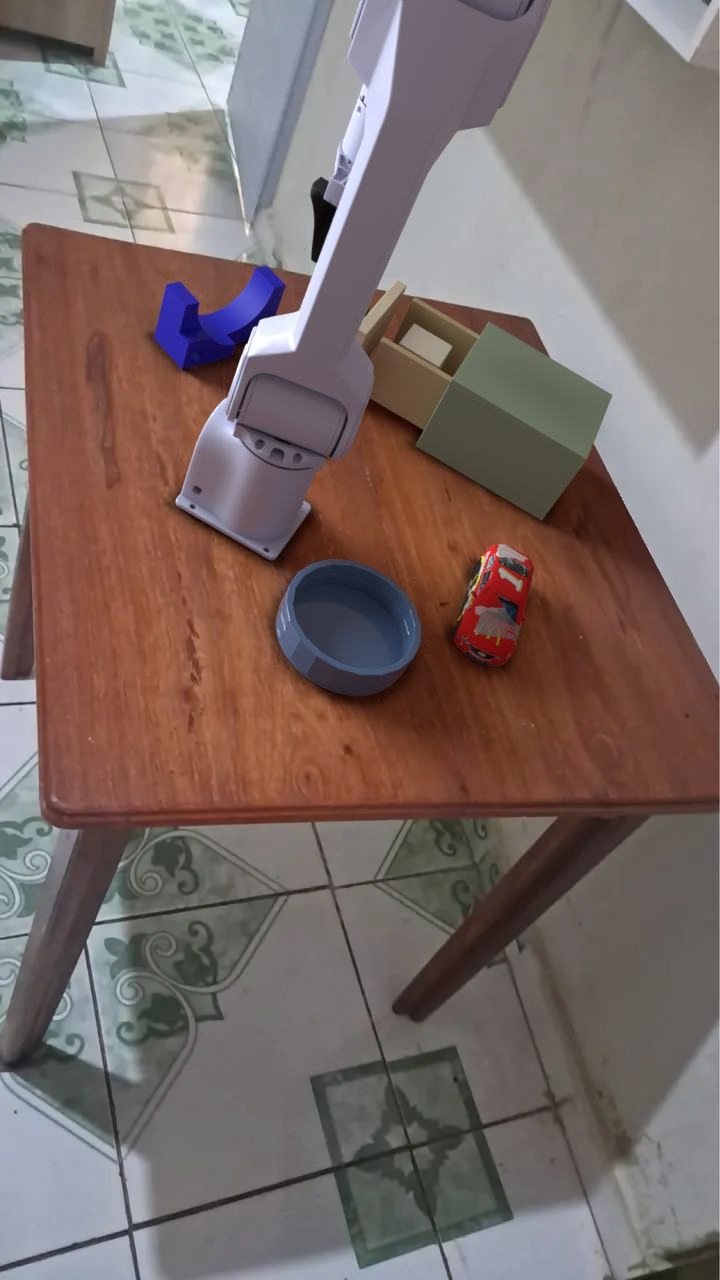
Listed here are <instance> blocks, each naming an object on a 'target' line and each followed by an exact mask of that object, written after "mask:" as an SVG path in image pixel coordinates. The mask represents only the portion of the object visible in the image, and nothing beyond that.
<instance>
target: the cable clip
mask: <svg viewBox="0 0 720 1280" xmlns="http://www.w3.org/2000/svg"><path fill="white" fill-rule="evenodd" d="M286 286H287V285H286V283H284V281H282V279H281V278H280V277H279V276H278V275H277V274H276V273H275V272H274V271H273V270H272V269H271V268H270V267H269V266H268V265H263V266H258V267H255V268H254V270H253V273H252V275H251V278H250V279H249V281H248V283H247V284H246V286H245V287H244V288H243V290H242V291H241V292H240V293H239V294H238V296H236V298H234V299H233V300H232V301H231V302H230V303H229V304H227V305H225V306H223V307H222V308H220V309H219V310H216V311H214V312H211V313H206V314H199V308H200V307H199V306H200V301H199V300H198V299H197V298H196V297H195V296H194V295H193V294H192V293H191V292H190V291H189V289H188V288H187V287H186V286H185V285H184V284H183V283H182V282H181V281H176V282H170V283H166V285H165V288H164V293H163V298H162V302H161V305H160V311H159V316H158V319H157V324H156V327H155V332H154V335H153V339H154V340H155V341H156V342H157V344H159V346H160V347H161V348H162V350H164V351H165V353H166V354H167V355H168V356H169V357H170V358H171V359H172V360H173V361H174V363H176V365H177V366H178V367H179V369H181V370H184V369H188V368H192V367H197V366H200V365H205V364H208V363H212V362H217V361H221V360H224V359H227V358H232V356H233V353H234V351H235V347H236V344H239V343H243V342H248V341H249V338H250V335H251V332H252V330H253V328H254V327H256V326H257V327H258V324H259V321H260V320H262V319H265V318H269V317H274V316H277V313H278V310H279V307H280V304H281V301H282V298H283V295H284V292H285V290H286Z"/></svg>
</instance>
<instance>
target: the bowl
mask: <svg viewBox="0 0 720 1280" xmlns="http://www.w3.org/2000/svg"><path fill="white" fill-rule="evenodd" d="M275 617H276V618H275V631H276V637H277V641H278V643H279V646H280V648H281V650H282V652H283V654H284V656H285V658H286V659H287V660H288V662H289V663H290V664H291V666H292V667H293V668H295V670H297V672H298V673H300V674H301V676H303V677H304V678H305V679H307V680H309V682H312V683H313V684H315V685H316V686H318V687H320V688H322V689H324V690H327V691H329V692H332V693H336V694H339V695H344V696H355V697H362V696H363V697H364V696H370V695H374V694H377V693H380V692H382V691H385V690H387V689H388V688H390V687H391V686H392V685H394V684H395V683H396V682H397V681H398V679H399V678H401V676H402V675H403V674H404V673H405V671H406V670H407V668H408V667H409V666H410V664H411V662H412V661H413V660H414V658H415V656H416V654H417V653H418V650H419V648H420V646H421V643H422V642H421V641H422V640H421V639H422V625H421V621H420V618H419V614H418V610H417V609H416V607H415V605H414V603H413V602H412V600H411V599H410V597H409V596H408V594H407V592H406V591H404V589H402V588H401V587H400V586H399V585H398V584H397V583H396V582H395V581H394V580H393V579H392V578H390V577H389V576H388V575H386V574H384V573H383V572H381V571H379V570H377V569H376V568H374V567H372V566H370V565H366V564H364V563H361V562H358V561H355V560H352V559H351V560H350V559H337V558H335V559H334V558H329V559H323V560H320V561H315V562H312V563H310V564H308V565H307V566H305V567H304V568H302V569H301V570H299V571H297V572H296V575H294V577H293V579H292V580H291V582H290V583H289V584H288V587H287V589H286V590H285V593H284V594H283V597H282V599H281V600H280V603H279V606H278V609H277V613H276V616H275Z"/></svg>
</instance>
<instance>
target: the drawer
mask: <svg viewBox="0 0 720 1280" xmlns="http://www.w3.org/2000/svg"><path fill="white" fill-rule="evenodd" d="M407 287H408V285H407V284H405V283H403V282H401V281H400V280H398V279H396V280H395V282H394V283H393V284H392V285H391V286H390V287H389V289H388V290H386V292H385V293H384V295H382V297H381V298H379V300H378V302H376V304H375V305H374V306H373V307H372V309H368V310H367V312H366V314H365V317H364V319H363V321H362V323H361V326H360V328H359V330H358V332H357V335H356V339H357V341H358V342H359V344H360V345H361V347H362V348H363V350H364V351H365V352H366V354H367V355H368V357H369V358H370V356H371V355H372V354H373V356H372V358H371V359H370V360H371V362H372V364H373V366H374V369H373V374H374V382H373V387H372V391H371V395H370V398H369V400H372V401H374V402H375V403H377V404H379V405H381V406H382V407H384V408H386V409H387V410H389V411H391V412H392V413H394V414H396V415H397V416H399V417H401V418H402V419H404V420H406V421H407V422H409V423H411V424H412V425H414V426H416V427H418V428H419V429H421V430H422V431H424V429H425V427H426V426H427V424H428V422H429V420H430V418H431V417H432V415H433V413H434V411H435V409H436V407H437V406H438V404H439V402H440V400H441V398H442V396H443V395H444V393H445V391H446V389H447V387H448V385H449V384H450V382H451V380H452V378H453V377H454V375H455V374H456V372H457V370H458V369H459V367H460V366H461V364H462V363H463V361H464V360H465V358H466V357H467V355H468V353H469V352H470V350H471V349H472V347H473V346H474V344H475V343H476V341H477V339H478V338H479V336H480V335H481V334H478V333H477V332H475V331H473V330H472V329H470V328H468V327H466V326H465V325H463V324H462V323H459V322H458V321H456V320H455V319H453V318H451V317H449V315H448V316H447V315H446V314H445V313H443V312H442V311H439V310H438V309H436V308H435V307H433V306H431V305H430V304H428V303H426V302H424V301H423V300H422V299H419V298H418V297H414V298H413V299H412V301H411V303H410V305H409V306H408V309H407V312H406V313H405V315H404V318H403V319H402V322H401V324H400V326H399V329H398V330H397V333H396V335H395V337H394V339H393V340H390V339H389V338H387V337H385V335H386V333H387V331H388V328H389V327H390V324H391V322H392V320H393V319H394V315H395V314H396V312H397V309H398V307H399V304H400V302H401V300H402V298H403V296H404V294H405V292H406V289H407ZM414 324H416V325H418V326H420V327H421V328H423V329H425V330H426V331H428V332H430V333H431V334H433V335H435V336H436V337H438V338H440V339H441V340H443V341H445V342H446V343H448V344H450V345H451V346H453V347H452V349H451V351H450V353H449V355H448V357H447V359H446V361H445V362H444V364H443V366H442V368H441V370H439V369H437V368H436V367H434V366H432V365H431V364H429V363H427V362H426V361H424V360H422V359H421V358H419V357H417V356H415V355H414V354H412V353H410V352H409V351H407V350H405V349H404V348H402V347H400V346H399V343H400V342H401V340H402V339H403V338H404V336H405V335H406V334H407V332H408V331H409V330H410V329H411V327H412V326H413V325H414ZM374 351H375V352H374ZM373 352H374V353H373Z"/></svg>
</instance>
